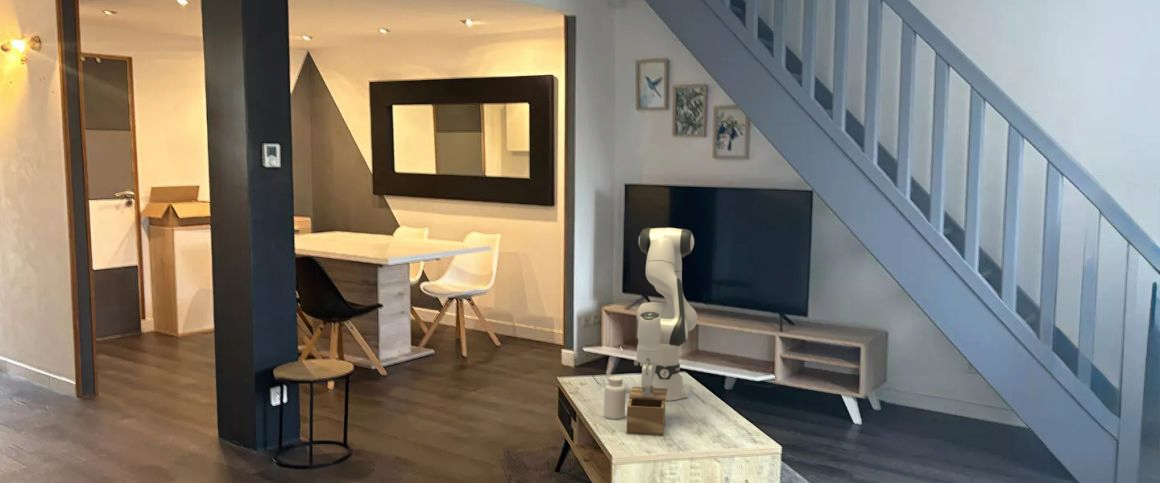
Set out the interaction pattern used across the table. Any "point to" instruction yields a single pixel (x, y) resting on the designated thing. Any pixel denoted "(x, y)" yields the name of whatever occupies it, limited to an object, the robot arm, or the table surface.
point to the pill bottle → (614, 399)
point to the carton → (645, 417)
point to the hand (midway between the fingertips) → (647, 393)
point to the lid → (654, 395)
